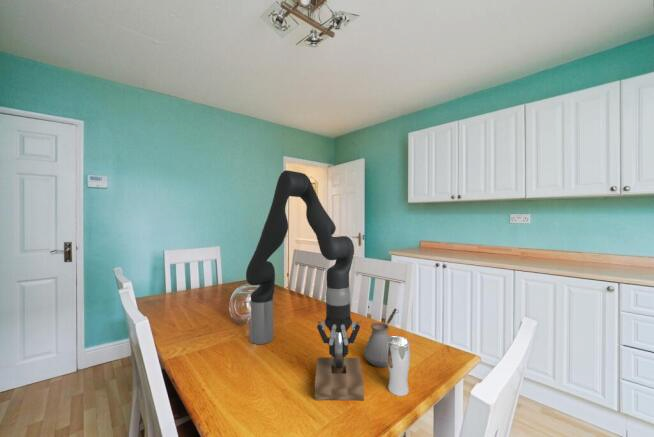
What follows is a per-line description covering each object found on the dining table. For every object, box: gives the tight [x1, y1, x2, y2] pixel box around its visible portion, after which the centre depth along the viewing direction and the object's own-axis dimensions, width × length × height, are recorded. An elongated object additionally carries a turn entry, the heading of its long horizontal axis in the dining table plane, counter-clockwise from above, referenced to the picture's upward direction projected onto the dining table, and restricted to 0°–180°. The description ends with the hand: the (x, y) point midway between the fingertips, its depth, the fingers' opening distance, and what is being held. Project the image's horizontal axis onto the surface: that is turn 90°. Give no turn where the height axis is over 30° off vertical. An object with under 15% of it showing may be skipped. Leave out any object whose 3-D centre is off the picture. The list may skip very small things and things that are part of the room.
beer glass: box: [386, 335, 411, 397], centre depth 83 cm, size 7×7×15 cm
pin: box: [333, 332, 345, 369], centre depth 86 cm, size 3×3×11 cm
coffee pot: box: [363, 308, 400, 368], centre depth 103 cm, size 21×12×15 cm, turn 143°
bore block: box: [314, 357, 365, 401], centre depth 86 cm, size 14×14×5 cm
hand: (338, 355), depth 86 cm, fingers closed on pin, 3 cm apart
